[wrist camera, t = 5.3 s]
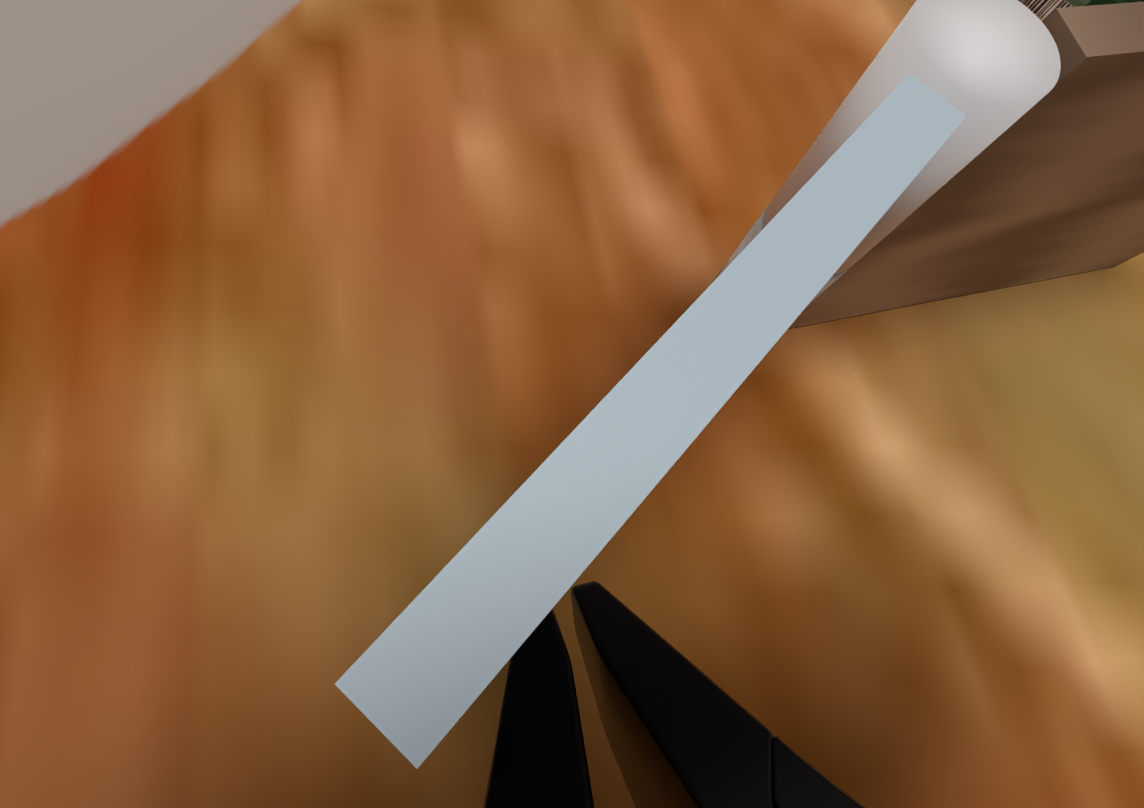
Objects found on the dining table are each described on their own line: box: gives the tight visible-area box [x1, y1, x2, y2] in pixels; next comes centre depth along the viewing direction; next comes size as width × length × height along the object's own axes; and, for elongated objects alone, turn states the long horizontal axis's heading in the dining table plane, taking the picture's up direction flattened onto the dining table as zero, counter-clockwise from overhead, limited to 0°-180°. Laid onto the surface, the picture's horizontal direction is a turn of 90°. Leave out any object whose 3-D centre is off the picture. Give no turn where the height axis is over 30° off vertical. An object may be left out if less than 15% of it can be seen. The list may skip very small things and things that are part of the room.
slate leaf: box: [335, 0, 1061, 769], centre depth 11 cm, size 13×2×10 cm, turn 138°
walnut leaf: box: [711, 2, 1144, 329], centre depth 15 cm, size 17×2×10 cm, turn 104°
